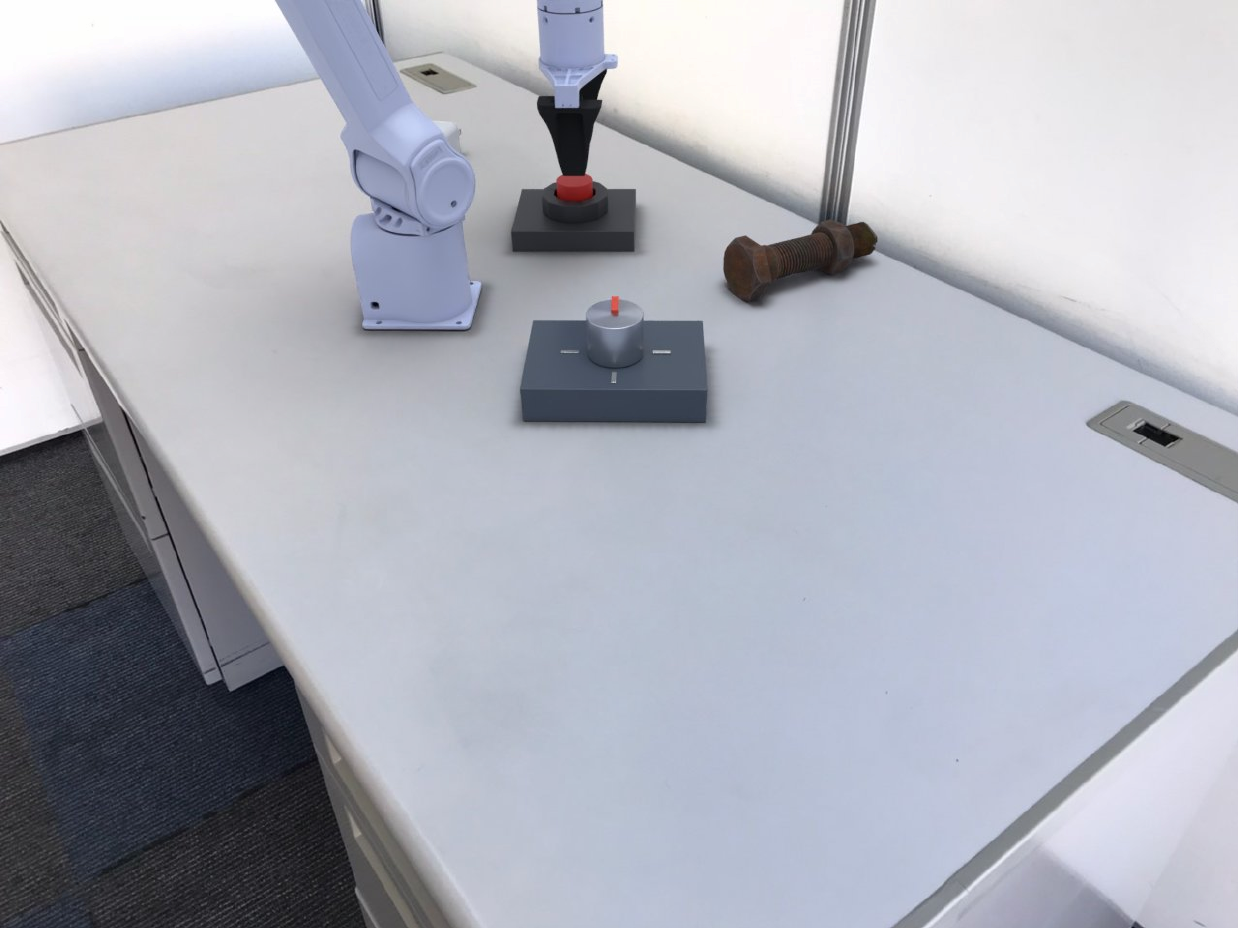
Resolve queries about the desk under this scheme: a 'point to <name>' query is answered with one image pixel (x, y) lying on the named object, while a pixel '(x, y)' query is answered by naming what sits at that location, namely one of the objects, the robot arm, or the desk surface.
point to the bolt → (794, 256)
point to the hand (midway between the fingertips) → (577, 158)
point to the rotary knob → (615, 333)
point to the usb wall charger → (450, 133)
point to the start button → (574, 187)
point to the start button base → (575, 221)
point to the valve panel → (615, 376)
